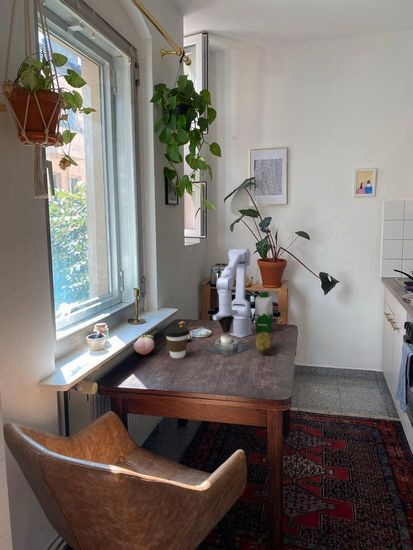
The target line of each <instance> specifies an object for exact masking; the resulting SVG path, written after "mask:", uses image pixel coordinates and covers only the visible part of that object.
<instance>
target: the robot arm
mask: <svg viewBox="0 0 413 550" xmlns="http://www.w3.org/2000/svg"><path fill="white" fill-rule="evenodd" d="M249 249H250V248H230V249H229V250H228V260H229V261H228V265H227V266H226V267H224V269H223V271H222V273H221V276H220V277H218V278H217V280H216V285H215V286H216V289H217V294H218V310H219V311H218V312H217V313H216V314H214V315H212V320H213V321H218V322H219V325H220V328H221V330H222V333H224V334H228V333H230V331H231V327H232V326H233V327H232V329H233V330H232V331H233V332H231V333H230V334H229V335H230V336H234V337H238V338H240V339H241V338H245V337H247V336H250V335H252V334H254V333H253V331H252V330H253V328H252V319H251V317H250V316H251V311H252V309H251V303H250V301H248V300H247V299H246V283H247V282H246V281H247V280H246V279H247V268H248V266H250V265H251V251H250V250H249ZM234 279H235V281H234ZM234 283H235V298H234V299H233V300H232V291H233V287H234Z"/></svg>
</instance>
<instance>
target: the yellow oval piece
mask: <svg viewBox="0 0 413 550" xmlns="http://www.w3.org/2000/svg"><path fill="white" fill-rule="evenodd" d="M272 343H273V340H272V337H271V334H270V333H267V332H258V333H257V335H256V338H255V347H256V350H257V353H259V354H261V355H268V354H270V353H271V351H272V347H273V346H272V345H273V344H272Z"/></svg>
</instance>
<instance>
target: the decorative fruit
mask: <svg viewBox="0 0 413 550" xmlns="http://www.w3.org/2000/svg"><path fill="white" fill-rule="evenodd" d="M139 336H140V337H139V338H138V340H137V341H136V342H135V343H134V342H133V348H134V350H135V352H136V353H138V354H140V355H142V356H145V355H148V354H149V353H150V352H152V351H153V349H154V348H155V341H154V339H155V337H154V336H153V335H151V334H144V333H142V335H139Z"/></svg>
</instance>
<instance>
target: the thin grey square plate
mask: <svg viewBox="0 0 413 550" xmlns="http://www.w3.org/2000/svg"><path fill="white" fill-rule="evenodd" d="M251 348H252V346H249V345H247V344H243V343H239V340H238V339H237V338H233V337H232V343H229V344H222V343H221V337H220V338H217V339H215V341H214V343H213V344H211V345H207V346H204V347H202V348H201V350H203V351H206V352H210V353H213V354H215V355H219V356H221V357H224V358H229V357H233V356H235V355H238V354H240V353H242V352H245V351H247V350H249V349H251Z"/></svg>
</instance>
